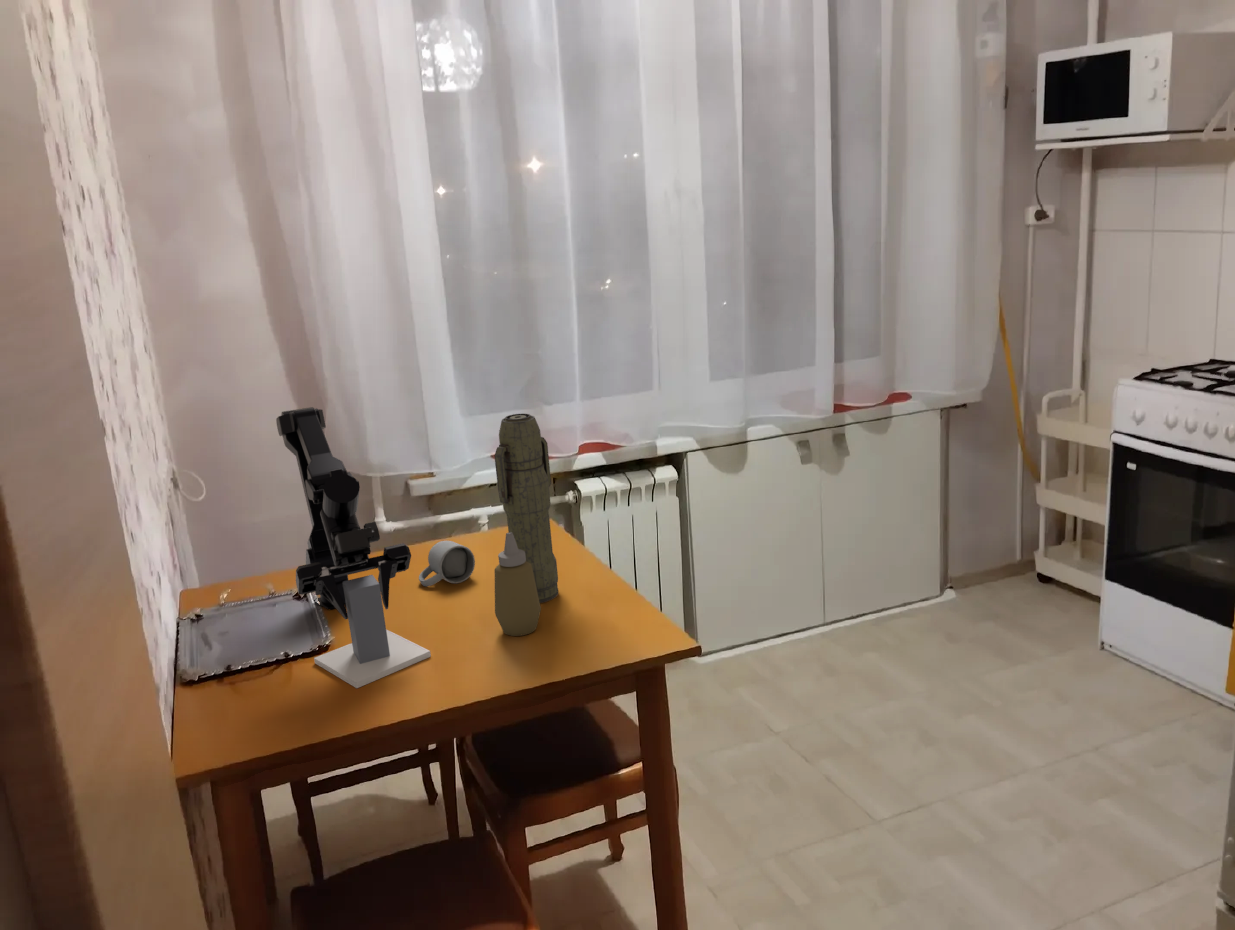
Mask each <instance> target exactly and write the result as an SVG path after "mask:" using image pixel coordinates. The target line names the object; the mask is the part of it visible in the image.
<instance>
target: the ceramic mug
mask: <svg viewBox="0 0 1235 930" xmlns="http://www.w3.org/2000/svg"><path fill="white" fill-rule="evenodd" d="M427 562H428V566H427V567H425V568H424V569H423V570H422V571H421V572H420V574H419V576H418V580H419V583H420V584H421V585H422V586H423V587H431V586H435V584H436V583H439V582H440V581H442V580H444V581H445V582H448V583H451V584H460V583H463V582H465V581H466V580H467V579H469V578H470V577H471V576H472V574H473V572H474V570H475V566H476V565H475V564H476V559H475V555H474V553H473V551H472V550H471V549H470V548H469V547H468V546H465V545H463V544H459V543H457V542H455V541H453V540H440V541H438V542H436V543H435V544H434V545H433V546H431V548H430V550H429V551H428V555H427ZM432 573H434V575H433V576H432V577H431V576H430V577H429V575H431V574H432ZM427 577H429V578H427Z"/></svg>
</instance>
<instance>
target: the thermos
mask: <svg viewBox="0 0 1235 930" xmlns="http://www.w3.org/2000/svg"><path fill="white" fill-rule="evenodd" d="M541 434H542V433H541V429H540V427H539V424H538V422H537V420H536V418H535V416H534V415H531V414H530V413H515V414H514V413H513V414H509V415H507V416H504V418H502V419H501V422H500V427H499V430H498V441H499V444H498V446H497V447H496V450H495V453H494V464H495V472H496V474H495V476H496V482H497V483H496V484H497V491H498V497H499V498H498V499H499V502H500V503H502V509H503V511H504V513H505V514H506V519H507V522H506V523H507V528H508V532H507V533H509V532H511V533H513V535H514V538H515V541H516V544H517V547H518V549H521V550H523V551H525V556H526V561H527V562H529V563H530V564H531V565H532V569H533V574H534V579H535V583H536V588H537V593H538V597H539V602H540V604H543V603H547V602H549V601H552V600H554V599H555V598H557V597H558V596H559V588H558V587H559V586H558V582H559V575H558V572H559V571H558V565H557V564H558V563H557V558H556V556H555V554H554V552H553V551H554V550H553V541H552V533H551V532H552V531H551V521H550V520H551V519H550V508H551V496H550V495H551V494H550V486H551V485H552V479H551V469H550V468H551V467H550V457H549V447H548V441H547V440H546V439H545V437H543V436H542V435H541Z"/></svg>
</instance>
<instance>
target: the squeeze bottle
mask: <svg viewBox="0 0 1235 930" xmlns="http://www.w3.org/2000/svg"><path fill="white" fill-rule="evenodd" d="M497 557H498V564H497V566H496V567H495V568H494V614H495V618H496V619H497V622H498V623H499V626H500V628H501V630H502V632H503V634H505V635H508V636H512V637H519V636H526V635H529V634H531V633H533V632H534V631H536V629H537V628H538V623H539V618H540V615H541V614H540V613H541V611H542V607H541V603H540V602H539V597H538V593H537V588H536V583H535V579H534V574H533V569H532V565H531V564H530V563H529V562H527V561H526V556H525V551H523V550H521V549H518V547H517V544H516V541H515V538H514V535H513V533H511V532H507V533H505V540H504V549H503V550H502V551H500V552H499V553H498V556H497Z"/></svg>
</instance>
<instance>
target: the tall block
mask: <svg viewBox="0 0 1235 930" xmlns="http://www.w3.org/2000/svg"><path fill="white" fill-rule="evenodd" d="M343 589H344V595H345V601H346V604H345V607H346V611H347V614H348V619H347V620H348V624H349V632H350V638H351V643H352V646H353V652H354V654H355V656H356V658H357V659H358V661H359V663H360V664H362V663H366V662H370V661H373V660H377V659H381V658H385V657H388V656H390V652H389V645H388V639H387V632H386V629H387V628H386V619H385V614H384V613H385V612H384V604H383V600H382V596H381V591H380V584H379V581H378V579H377V578H375V576H374V575H373V574H369V575H365V576H361V577H356V578H351V579H348V580H347V581H343Z"/></svg>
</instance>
